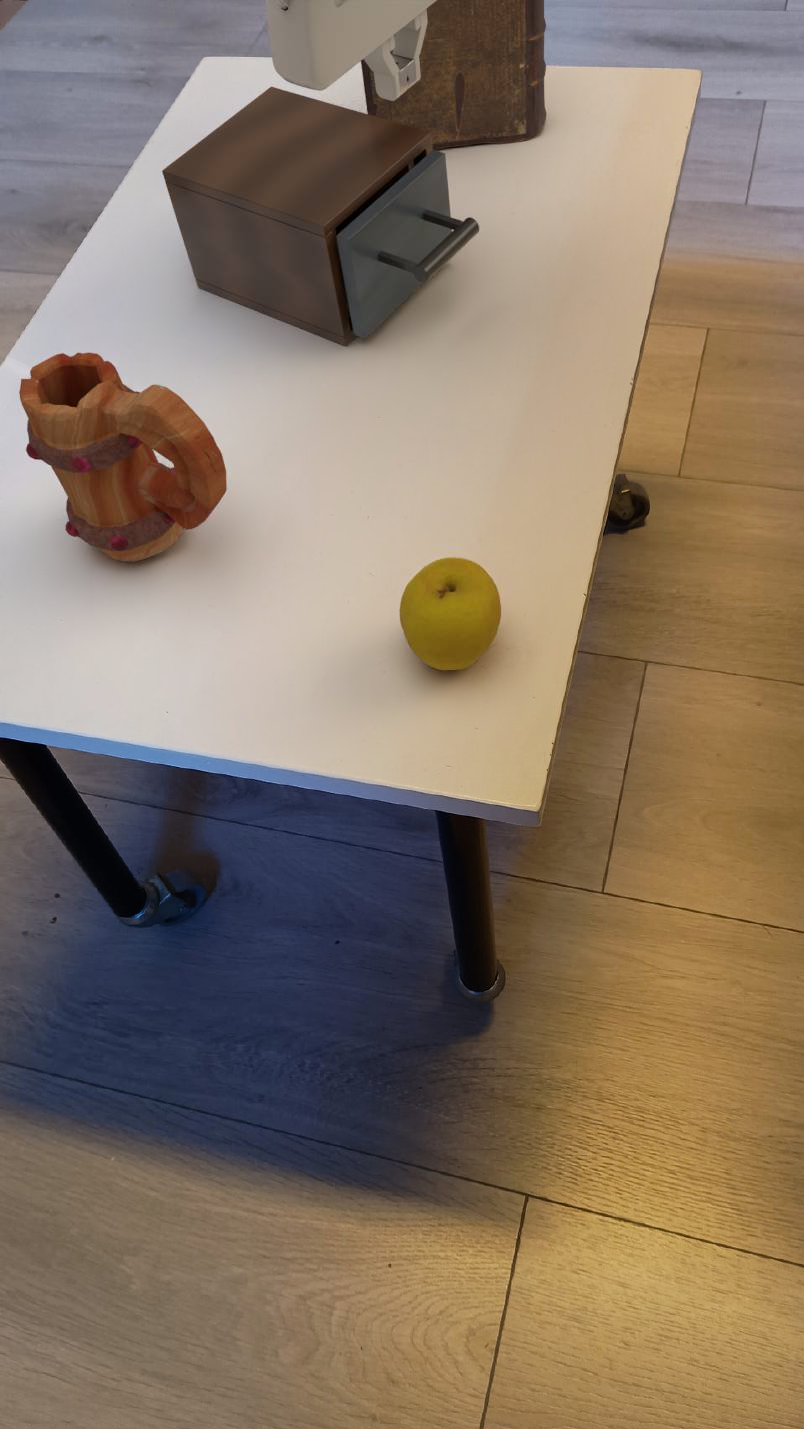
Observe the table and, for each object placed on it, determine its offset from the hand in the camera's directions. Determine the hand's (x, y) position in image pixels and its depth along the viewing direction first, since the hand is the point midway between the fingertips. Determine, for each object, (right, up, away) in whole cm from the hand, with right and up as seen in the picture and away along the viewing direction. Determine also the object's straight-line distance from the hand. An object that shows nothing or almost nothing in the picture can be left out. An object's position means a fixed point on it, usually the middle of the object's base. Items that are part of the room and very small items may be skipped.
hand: (399, 89), depth 77 cm
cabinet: (-7, -5, +20) cm, 21 cm away
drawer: (-3, -6, +17) cm, 18 cm away
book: (+6, +12, +29) cm, 32 cm away
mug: (-17, -31, +4) cm, 36 cm away
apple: (+4, -40, -4) cm, 40 cm away
